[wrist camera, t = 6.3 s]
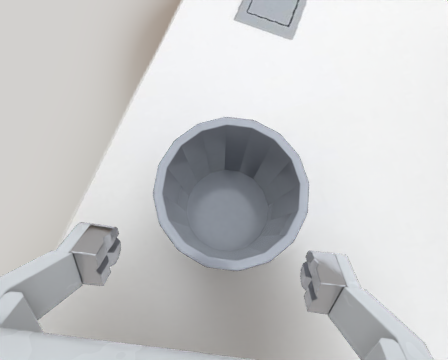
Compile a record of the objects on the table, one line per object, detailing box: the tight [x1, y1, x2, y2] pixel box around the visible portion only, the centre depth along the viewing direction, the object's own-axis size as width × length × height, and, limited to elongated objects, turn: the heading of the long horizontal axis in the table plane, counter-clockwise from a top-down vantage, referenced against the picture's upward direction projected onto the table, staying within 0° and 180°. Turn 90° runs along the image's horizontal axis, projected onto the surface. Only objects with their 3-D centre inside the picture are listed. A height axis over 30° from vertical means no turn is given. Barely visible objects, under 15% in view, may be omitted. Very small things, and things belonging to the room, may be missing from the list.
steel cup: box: [153, 117, 309, 271], centre depth 14 cm, size 6×6×8 cm
